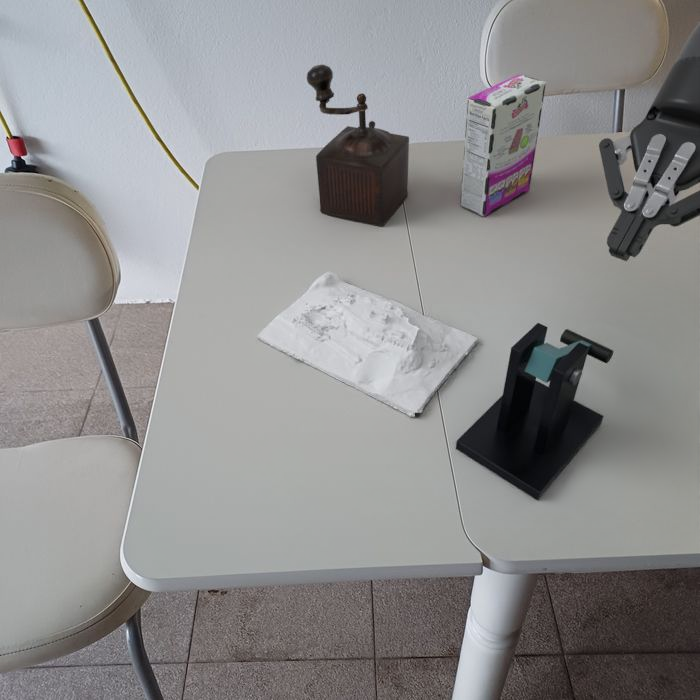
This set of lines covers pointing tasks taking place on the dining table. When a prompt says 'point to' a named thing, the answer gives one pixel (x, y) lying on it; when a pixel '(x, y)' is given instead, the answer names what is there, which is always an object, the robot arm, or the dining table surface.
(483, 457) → the switch bracket
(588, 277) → the dining table surface
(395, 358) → the terrain model
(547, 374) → the switch lever
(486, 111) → the candy bar box
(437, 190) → the dining table surface
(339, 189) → the manual coffee grinder
